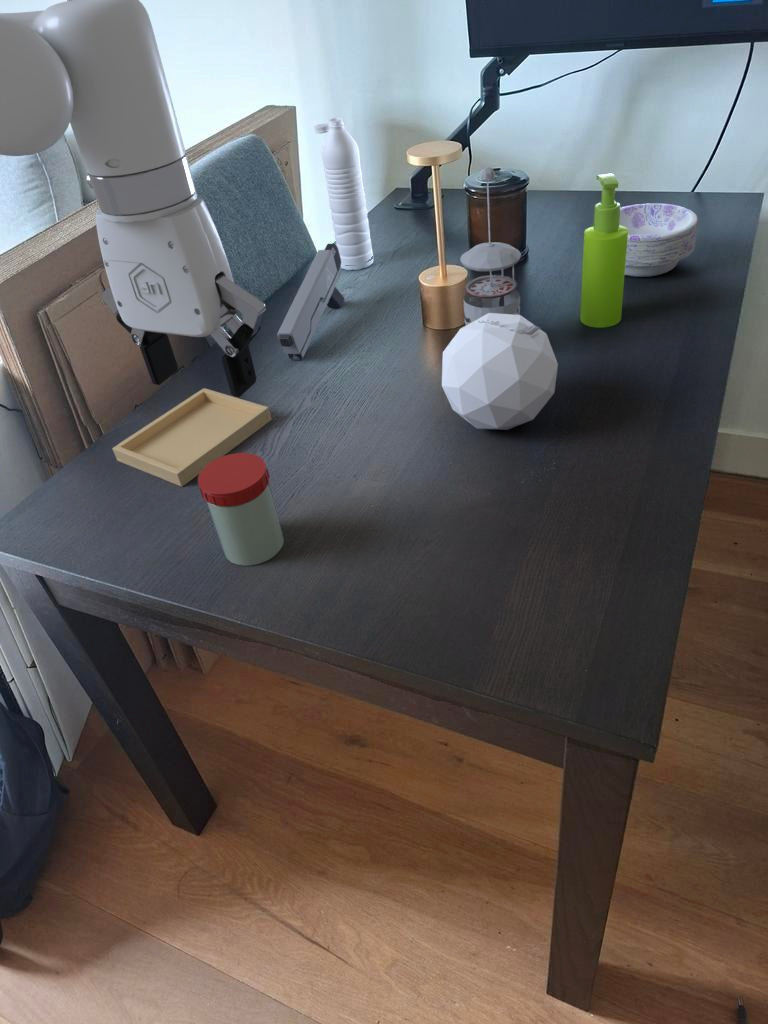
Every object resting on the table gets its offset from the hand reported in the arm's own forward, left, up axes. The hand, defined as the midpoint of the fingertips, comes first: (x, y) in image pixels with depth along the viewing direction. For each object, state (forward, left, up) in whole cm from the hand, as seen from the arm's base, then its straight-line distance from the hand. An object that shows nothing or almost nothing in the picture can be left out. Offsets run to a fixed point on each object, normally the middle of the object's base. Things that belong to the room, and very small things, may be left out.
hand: (204, 382), depth 70 cm
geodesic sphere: (+33, -12, -20) cm, 41 cm away
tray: (+12, +22, -20) cm, 32 cm away
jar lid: (0, 0, -11) cm, 11 cm away
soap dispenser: (+64, -12, -20) cm, 68 cm away
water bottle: (+68, +38, -20) cm, 81 cm away
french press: (+50, -2, -20) cm, 54 cm away
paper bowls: (+84, -11, -20) cm, 87 cm away
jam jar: (0, 0, -20) cm, 20 cm away
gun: (+44, +27, -20) cm, 56 cm away
